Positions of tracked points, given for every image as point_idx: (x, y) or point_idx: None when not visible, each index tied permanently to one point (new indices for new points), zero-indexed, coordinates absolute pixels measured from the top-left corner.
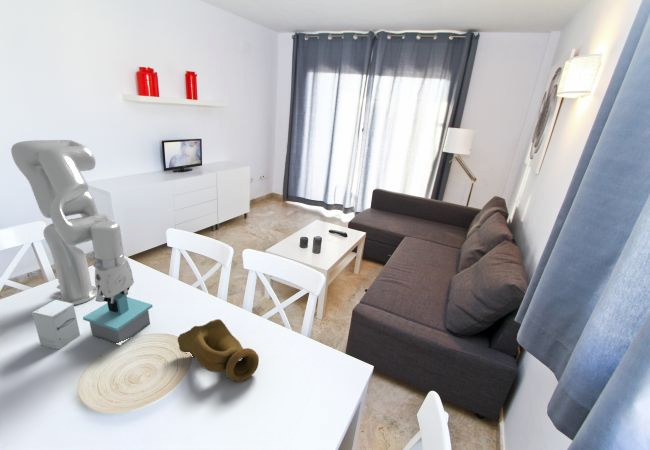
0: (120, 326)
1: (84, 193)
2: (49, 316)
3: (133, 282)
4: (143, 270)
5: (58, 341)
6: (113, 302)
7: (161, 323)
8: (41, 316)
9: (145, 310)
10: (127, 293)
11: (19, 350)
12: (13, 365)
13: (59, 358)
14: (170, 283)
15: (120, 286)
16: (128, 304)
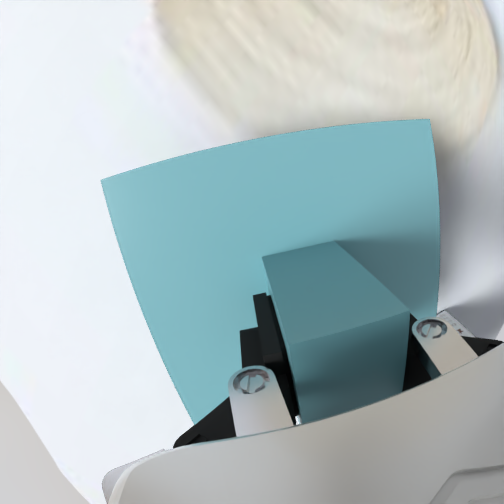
0: (405, 120)
1: None
2: None
3: (118, 480)
4: (66, 469)
5: (460, 325)
6: (420, 323)
7: (130, 139)
8: None
9: (173, 158)
10: (235, 381)
11: None
12: (496, 324)
13: (466, 267)
14: (5, 370)
15: (478, 472)
16: (220, 325)
